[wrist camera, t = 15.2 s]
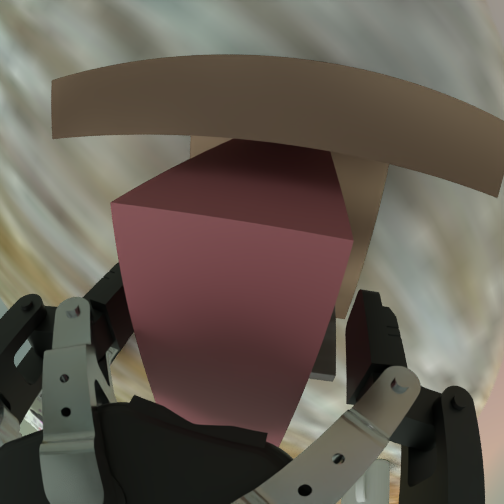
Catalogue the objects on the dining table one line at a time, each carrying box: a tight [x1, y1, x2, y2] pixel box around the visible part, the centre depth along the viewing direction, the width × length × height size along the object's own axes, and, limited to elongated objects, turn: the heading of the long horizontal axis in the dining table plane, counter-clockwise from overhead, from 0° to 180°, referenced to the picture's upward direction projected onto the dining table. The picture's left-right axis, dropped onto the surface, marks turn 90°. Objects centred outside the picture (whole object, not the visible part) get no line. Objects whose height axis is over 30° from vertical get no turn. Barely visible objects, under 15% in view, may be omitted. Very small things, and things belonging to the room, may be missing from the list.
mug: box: [341, 459, 389, 504], centre depth 35 cm, size 11×10×10 cm
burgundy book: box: [111, 138, 354, 447], centre depth 13 cm, size 10×4×14 cm, turn 175°
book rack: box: [51, 55, 504, 382], centre depth 15 cm, size 17×13×13 cm
